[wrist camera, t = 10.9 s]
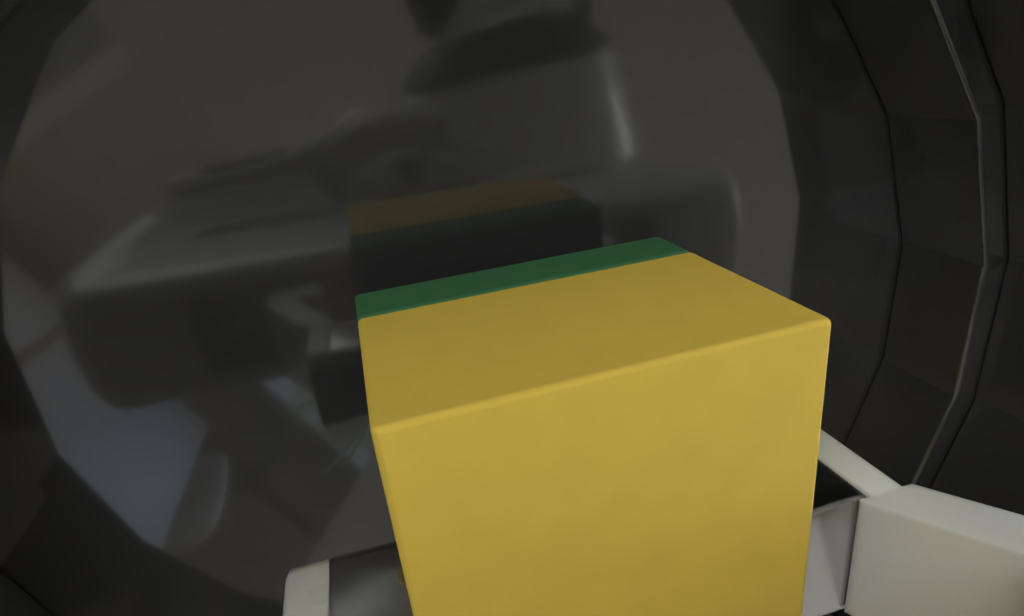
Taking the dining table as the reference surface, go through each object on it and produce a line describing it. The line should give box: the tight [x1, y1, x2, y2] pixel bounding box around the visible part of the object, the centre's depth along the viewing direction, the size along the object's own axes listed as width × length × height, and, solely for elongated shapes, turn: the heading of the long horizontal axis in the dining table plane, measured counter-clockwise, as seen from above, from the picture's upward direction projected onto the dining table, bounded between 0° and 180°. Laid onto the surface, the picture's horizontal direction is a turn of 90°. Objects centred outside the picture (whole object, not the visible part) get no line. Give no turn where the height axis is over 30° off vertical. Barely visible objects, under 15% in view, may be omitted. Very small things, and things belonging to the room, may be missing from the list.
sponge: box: [355, 237, 831, 616], centre depth 8 cm, size 7×4×4 cm, turn 6°
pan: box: [0, 0, 1024, 616], centre depth 9 cm, size 19×19×4 cm
